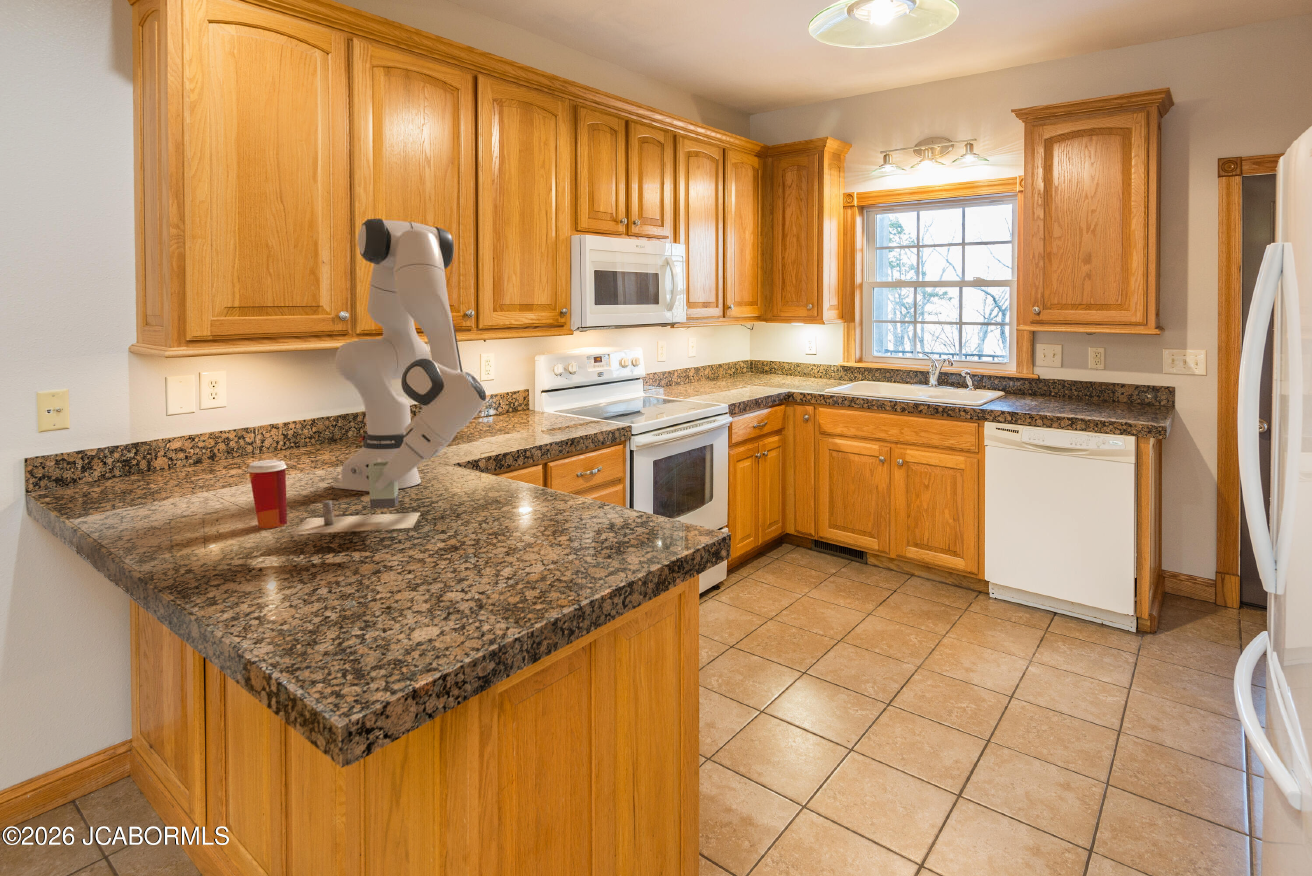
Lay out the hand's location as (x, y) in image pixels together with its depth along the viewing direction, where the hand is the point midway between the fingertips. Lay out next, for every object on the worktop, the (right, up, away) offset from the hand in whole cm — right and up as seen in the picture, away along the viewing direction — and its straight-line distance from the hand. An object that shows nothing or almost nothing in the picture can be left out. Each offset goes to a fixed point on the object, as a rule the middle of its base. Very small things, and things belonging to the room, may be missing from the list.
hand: (380, 483), depth 162 cm
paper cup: (-25, -10, +5) cm, 28 cm away
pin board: (-5, -10, +1) cm, 11 cm away
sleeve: (+1, -5, +1) cm, 5 cm away
